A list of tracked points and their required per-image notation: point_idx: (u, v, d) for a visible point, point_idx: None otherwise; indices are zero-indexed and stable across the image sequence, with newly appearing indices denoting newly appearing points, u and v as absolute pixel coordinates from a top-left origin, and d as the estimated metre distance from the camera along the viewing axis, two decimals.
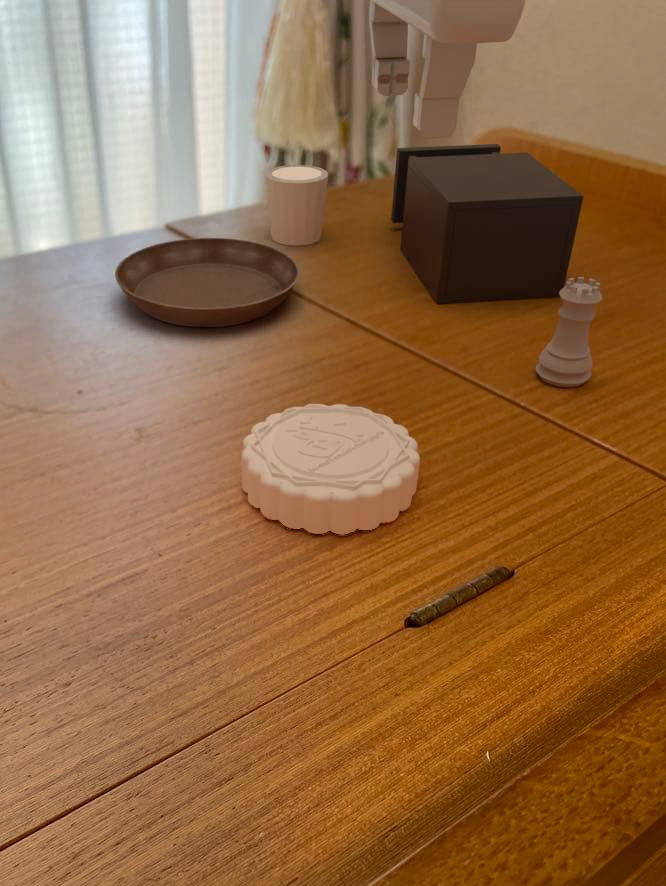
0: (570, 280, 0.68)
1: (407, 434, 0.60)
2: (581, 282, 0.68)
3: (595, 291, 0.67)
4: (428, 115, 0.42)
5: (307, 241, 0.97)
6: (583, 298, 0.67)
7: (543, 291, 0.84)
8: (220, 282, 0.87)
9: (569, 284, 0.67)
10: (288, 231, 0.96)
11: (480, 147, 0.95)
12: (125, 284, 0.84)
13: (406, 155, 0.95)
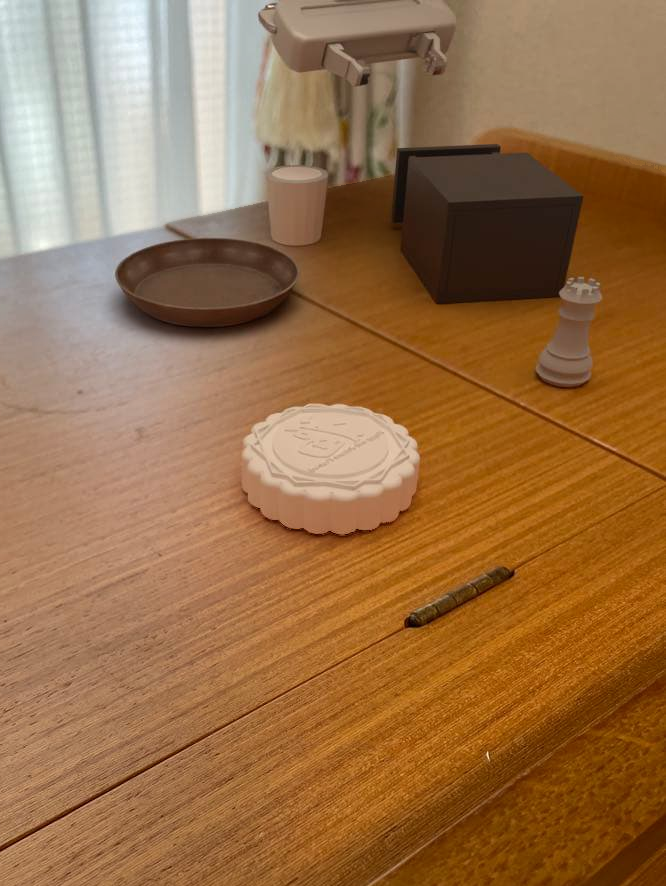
0: (570, 280, 0.68)
1: (407, 434, 0.60)
2: (581, 282, 0.68)
3: (595, 291, 0.67)
4: (350, 79, 0.87)
5: (307, 241, 0.97)
6: (583, 298, 0.67)
7: (543, 291, 0.84)
8: (220, 282, 0.87)
9: (569, 284, 0.67)
10: (288, 231, 0.96)
11: (480, 147, 0.95)
12: (125, 284, 0.84)
13: (406, 155, 0.95)
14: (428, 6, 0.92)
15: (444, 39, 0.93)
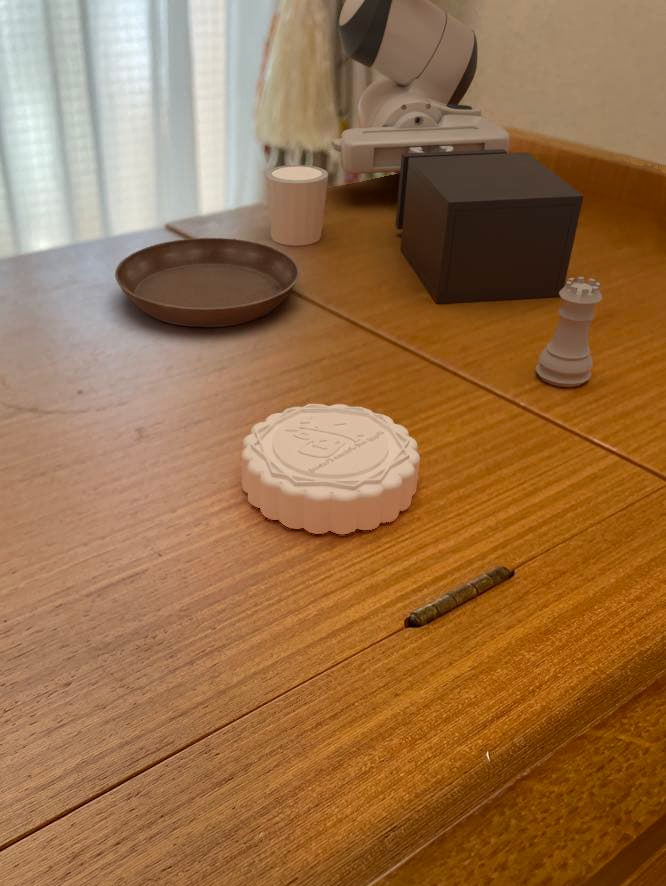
0: (570, 280, 0.68)
1: (407, 434, 0.60)
2: (581, 282, 0.68)
3: (595, 291, 0.67)
4: None
5: (307, 241, 0.97)
6: (583, 298, 0.67)
7: (543, 291, 0.84)
8: (220, 282, 0.87)
9: (569, 284, 0.67)
10: (288, 231, 0.96)
11: (486, 152, 0.94)
12: (125, 284, 0.84)
13: None
14: (484, 129, 1.05)
15: None
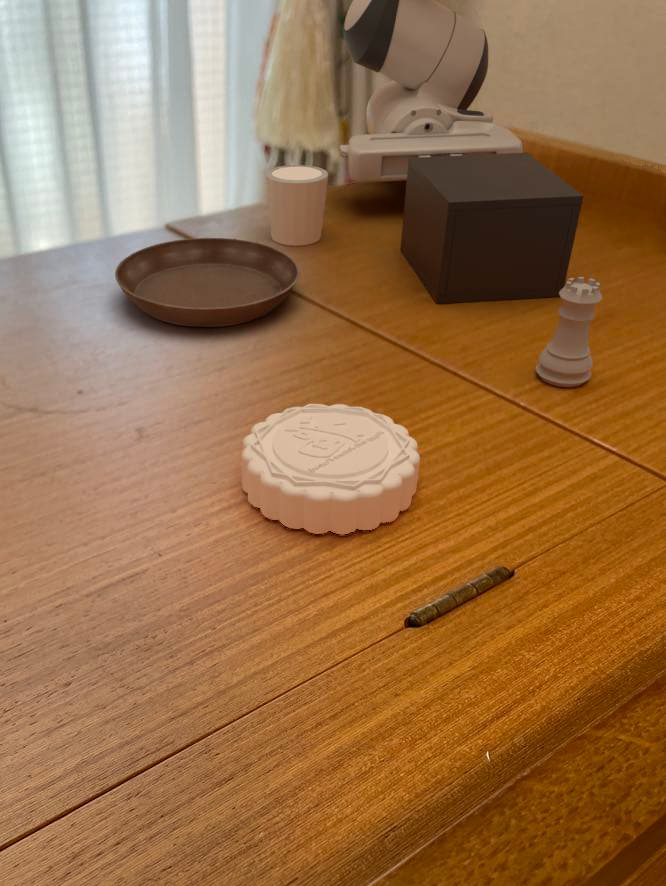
0: (570, 280, 0.68)
1: (407, 434, 0.60)
2: (581, 282, 0.68)
3: (595, 291, 0.67)
4: None
5: (307, 241, 0.97)
6: (583, 298, 0.67)
7: (543, 291, 0.84)
8: (220, 282, 0.87)
9: (569, 284, 0.67)
10: (288, 231, 0.96)
11: None
12: (125, 284, 0.84)
13: None
14: (496, 137, 1.02)
15: None
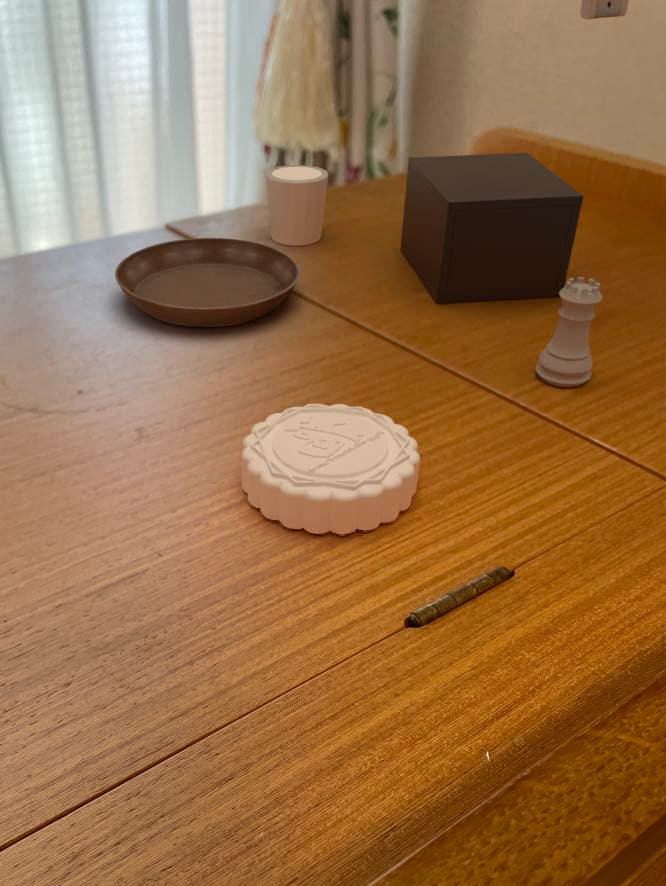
0: (570, 280, 0.68)
1: (407, 434, 0.60)
2: (581, 282, 0.68)
3: (595, 291, 0.67)
4: (583, 1, 0.66)
5: (307, 241, 0.97)
6: (583, 298, 0.67)
7: (543, 291, 0.84)
8: (220, 282, 0.87)
9: (569, 284, 0.67)
10: (288, 231, 0.96)
11: None
12: (125, 284, 0.84)
13: None
14: None
15: None
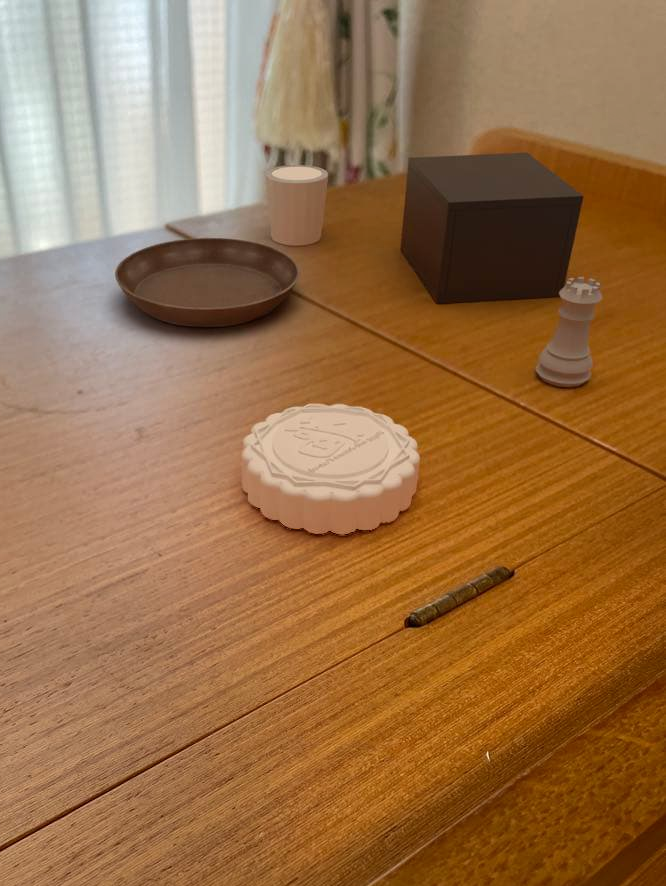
0: (570, 280, 0.68)
1: (407, 434, 0.60)
2: (581, 282, 0.68)
3: (595, 291, 0.67)
4: None
5: (307, 241, 0.97)
6: (583, 298, 0.67)
7: (543, 291, 0.84)
8: (220, 282, 0.87)
9: (569, 284, 0.67)
10: (288, 231, 0.96)
11: None
12: (125, 284, 0.84)
13: None
14: None
15: None
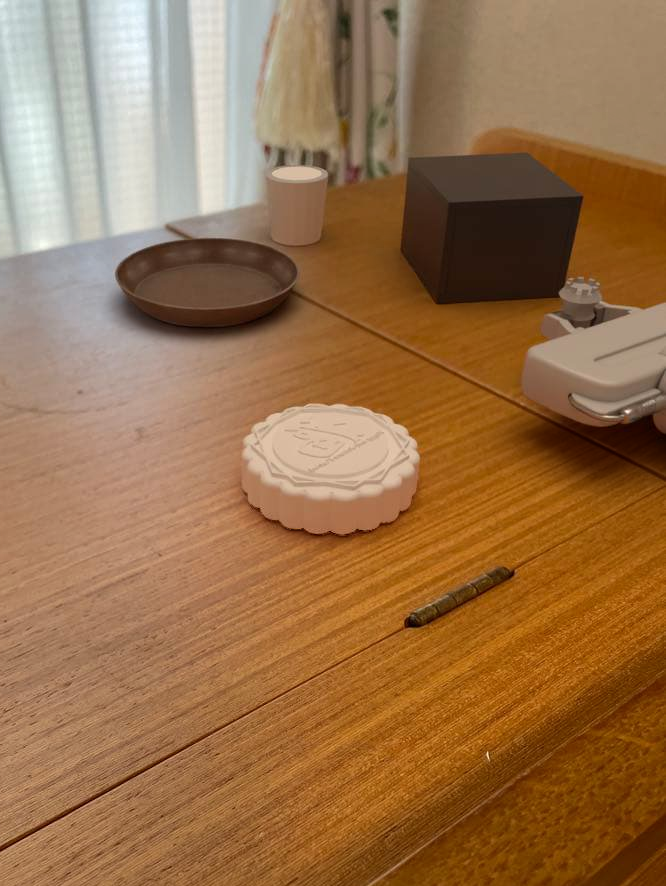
0: (570, 280, 0.68)
1: (407, 434, 0.60)
2: (581, 282, 0.68)
3: (594, 292, 0.67)
4: (552, 322, 0.67)
5: (307, 241, 0.97)
6: (583, 298, 0.67)
7: (543, 291, 0.84)
8: (220, 282, 0.87)
9: (569, 284, 0.67)
10: (288, 231, 0.96)
11: None
12: (125, 284, 0.84)
13: None
14: None
15: None
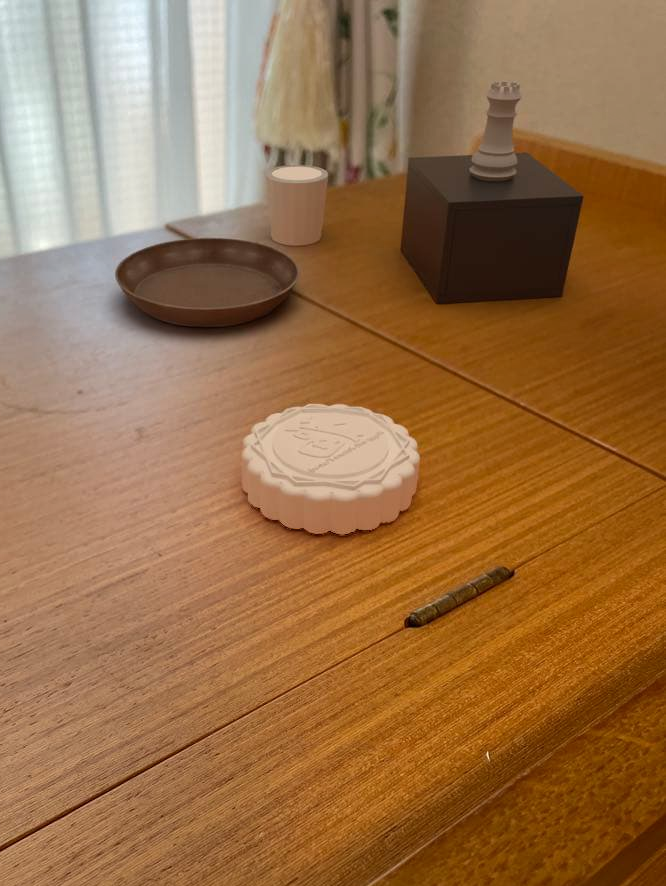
0: (495, 83, 0.80)
1: (407, 434, 0.60)
2: (504, 85, 0.80)
3: (515, 89, 0.78)
4: None
5: (307, 241, 0.97)
6: (505, 95, 0.78)
7: (543, 291, 0.84)
8: (220, 282, 0.87)
9: (493, 85, 0.79)
10: (288, 231, 0.96)
11: None
12: (125, 284, 0.84)
13: None
14: None
15: None
